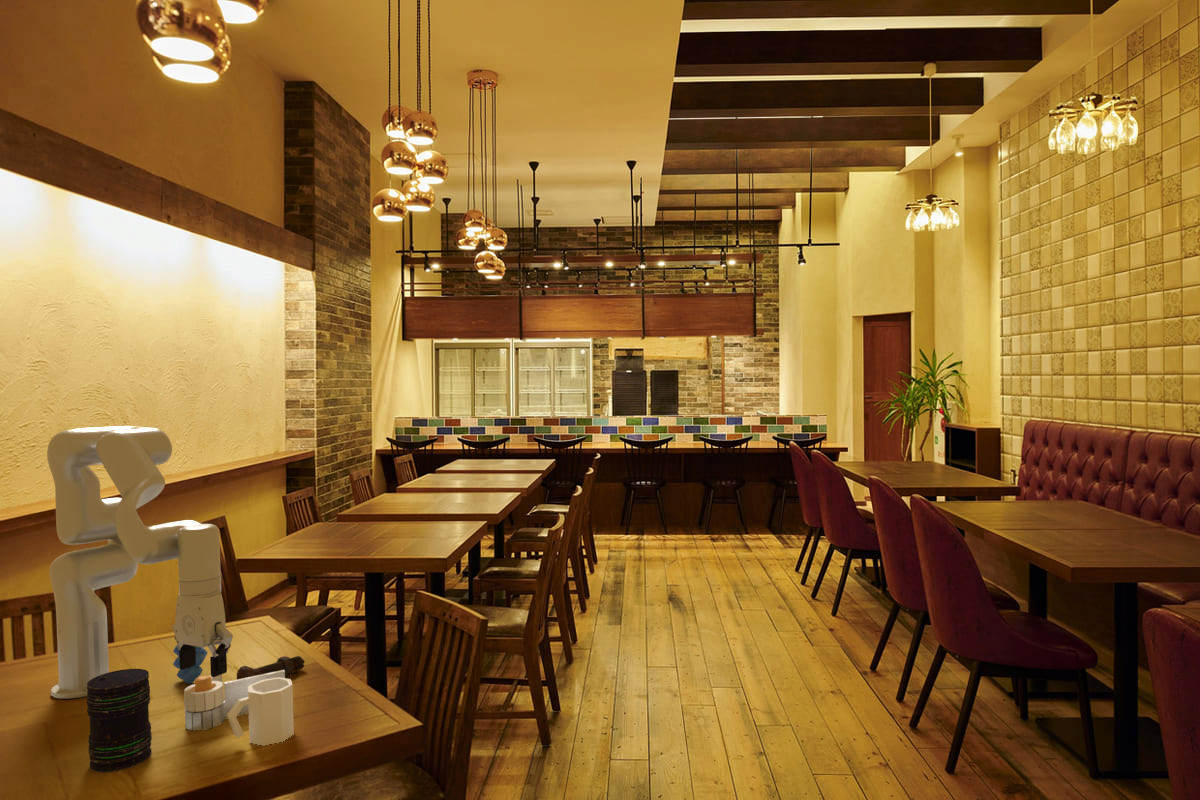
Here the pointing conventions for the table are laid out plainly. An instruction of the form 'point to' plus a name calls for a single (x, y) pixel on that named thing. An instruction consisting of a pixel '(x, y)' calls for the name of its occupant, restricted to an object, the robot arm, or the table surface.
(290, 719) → the mug
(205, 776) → the table surface
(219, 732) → the table surface
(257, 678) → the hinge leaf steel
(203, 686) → the hinge pin
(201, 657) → the grapes
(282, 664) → the bolt
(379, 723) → the table surface
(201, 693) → the hinge leaf cream
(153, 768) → the table surface
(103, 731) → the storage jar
